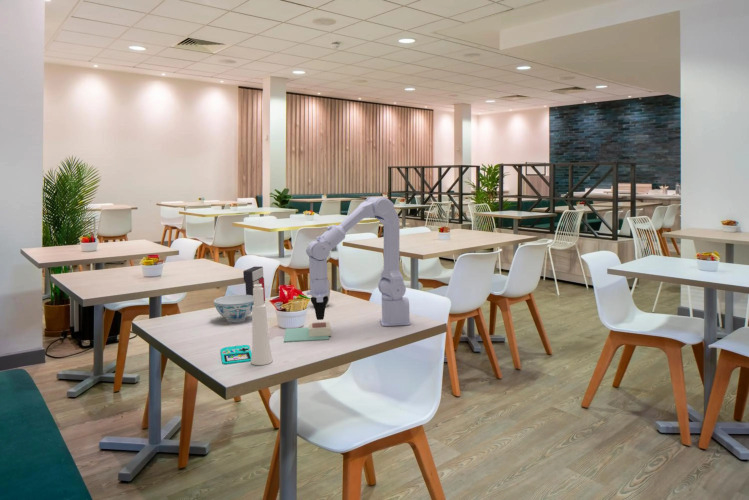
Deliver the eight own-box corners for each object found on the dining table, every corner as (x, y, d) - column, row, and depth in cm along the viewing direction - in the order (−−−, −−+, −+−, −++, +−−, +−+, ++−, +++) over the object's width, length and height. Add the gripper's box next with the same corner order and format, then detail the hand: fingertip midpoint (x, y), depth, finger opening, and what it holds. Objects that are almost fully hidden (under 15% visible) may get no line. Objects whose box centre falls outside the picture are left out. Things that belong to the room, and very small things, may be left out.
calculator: (255, 308, 214) (253, 271, 212) (245, 308, 215) (243, 270, 213) (266, 302, 225) (264, 266, 223) (256, 301, 226) (254, 266, 224)
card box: (329, 321, 181) (308, 322, 181) (330, 327, 174) (308, 328, 173) (329, 328, 182) (308, 329, 181) (331, 335, 174) (309, 336, 173)
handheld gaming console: (248, 343, 167) (253, 358, 153) (248, 346, 167) (253, 362, 153) (220, 346, 164) (222, 362, 150) (220, 350, 164) (222, 366, 150)
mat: (327, 327, 185) (327, 326, 185) (328, 339, 171) (328, 338, 171) (285, 329, 183) (285, 328, 183) (284, 342, 169) (283, 341, 169)
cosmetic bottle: (246, 364, 150) (242, 286, 147) (258, 357, 156) (254, 281, 153) (265, 366, 148) (261, 287, 145) (276, 359, 154) (273, 282, 151)
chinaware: (261, 314, 205) (260, 294, 204) (251, 325, 190) (250, 303, 189) (222, 314, 205) (221, 294, 204) (209, 325, 190) (207, 304, 189)
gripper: (306, 274, 182) (307, 314, 184) (306, 283, 167) (307, 325, 169) (327, 273, 182) (328, 313, 184) (329, 282, 168) (330, 324, 170)
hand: (320, 319), depth 177 cm, fingers closed
